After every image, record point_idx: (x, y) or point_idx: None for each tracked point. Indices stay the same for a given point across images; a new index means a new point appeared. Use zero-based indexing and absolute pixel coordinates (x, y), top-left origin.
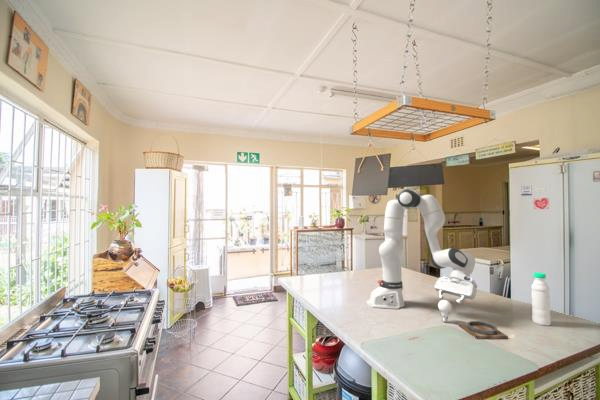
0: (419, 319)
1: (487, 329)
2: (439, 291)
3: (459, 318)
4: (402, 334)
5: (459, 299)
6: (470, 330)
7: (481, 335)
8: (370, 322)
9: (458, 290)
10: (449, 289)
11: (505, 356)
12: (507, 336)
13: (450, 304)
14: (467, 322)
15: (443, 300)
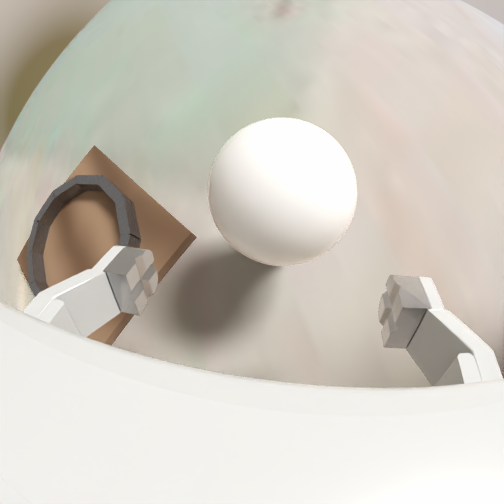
0: (407, 154)
1: (65, 271)
2: (483, 350)
3: None
4: (323, 6)
5: (99, 272)
6: (117, 184)
7: (77, 171)
8: (447, 28)
9: (42, 382)
10: (288, 422)
11: (43, 120)
12: (18, 257)
13: (209, 182)
14: (129, 233)
15: (285, 137)
